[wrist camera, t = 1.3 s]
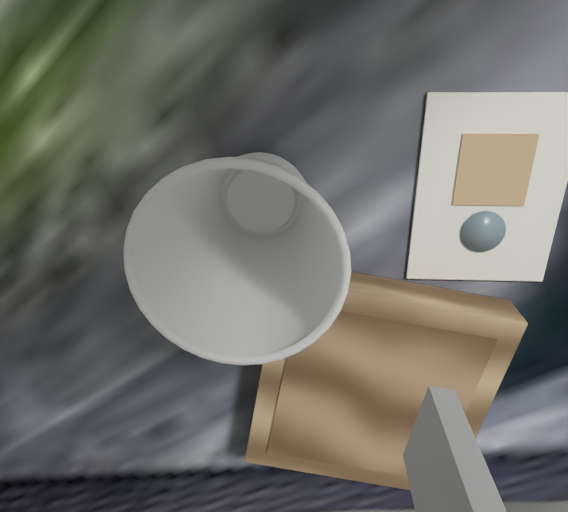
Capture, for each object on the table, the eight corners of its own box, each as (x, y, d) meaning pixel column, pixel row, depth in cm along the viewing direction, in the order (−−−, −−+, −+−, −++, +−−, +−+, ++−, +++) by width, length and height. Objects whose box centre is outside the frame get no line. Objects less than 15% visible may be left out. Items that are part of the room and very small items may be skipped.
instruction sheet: (426, 92, 27) (428, 92, 26) (587, 91, 26) (590, 92, 26) (405, 277, 32) (406, 279, 31) (541, 280, 31) (543, 282, 31)
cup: (227, 286, 33) (189, 390, 23) (158, 157, 29) (77, 213, 19) (359, 237, 31) (383, 328, 21) (303, 92, 27) (297, 116, 17)
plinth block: (281, 259, 32) (278, 280, 29) (509, 300, 32) (529, 324, 29) (249, 432, 38) (244, 463, 35) (438, 464, 38) (449, 498, 35)
